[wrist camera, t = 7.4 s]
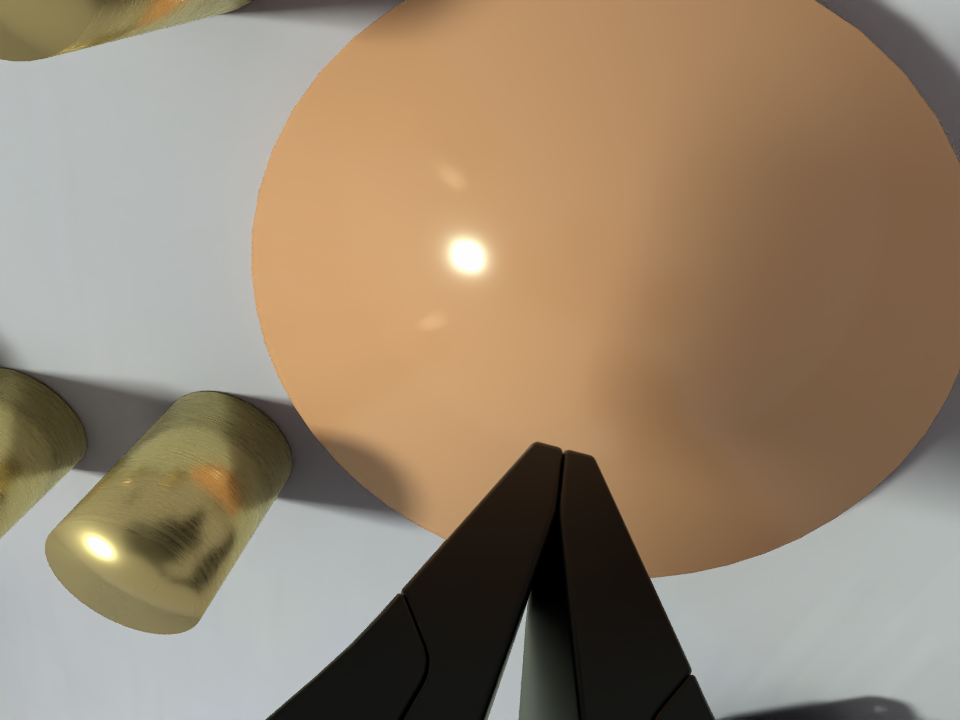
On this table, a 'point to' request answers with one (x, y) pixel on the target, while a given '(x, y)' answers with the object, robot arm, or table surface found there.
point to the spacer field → (164, 447)
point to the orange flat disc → (616, 262)
